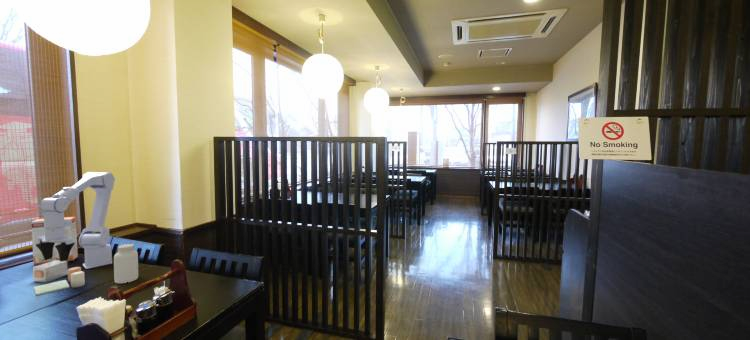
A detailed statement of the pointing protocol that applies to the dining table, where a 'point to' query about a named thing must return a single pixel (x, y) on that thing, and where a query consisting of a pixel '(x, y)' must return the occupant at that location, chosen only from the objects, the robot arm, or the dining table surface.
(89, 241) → the robot arm
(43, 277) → the block
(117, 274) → the pill bottle
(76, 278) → the ivory peg
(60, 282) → the pad
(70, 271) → the terracotta peg
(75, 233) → the cracker box
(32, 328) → the dining table surface
